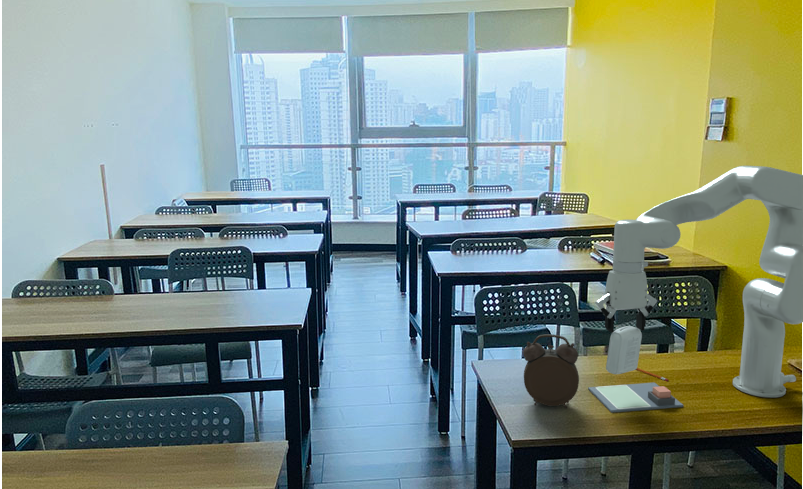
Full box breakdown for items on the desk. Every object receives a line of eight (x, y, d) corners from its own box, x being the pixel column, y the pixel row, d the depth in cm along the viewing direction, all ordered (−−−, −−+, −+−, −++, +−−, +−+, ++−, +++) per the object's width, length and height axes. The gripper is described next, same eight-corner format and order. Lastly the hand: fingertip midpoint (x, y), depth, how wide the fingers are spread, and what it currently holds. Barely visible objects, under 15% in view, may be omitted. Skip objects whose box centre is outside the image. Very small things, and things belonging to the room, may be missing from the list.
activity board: (654, 384, 159) (654, 376, 159) (683, 406, 146) (683, 398, 145) (588, 389, 157) (588, 381, 157) (611, 412, 144) (611, 404, 143)
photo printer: (625, 364, 154) (631, 322, 152) (639, 369, 151) (645, 327, 149) (602, 370, 148) (608, 327, 146) (616, 376, 145) (623, 332, 143)
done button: (663, 393, 150) (664, 386, 149) (670, 399, 146) (670, 391, 146) (652, 394, 149) (652, 387, 149) (658, 399, 146) (659, 392, 146)
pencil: (666, 382, 161) (666, 379, 161) (612, 362, 177) (612, 359, 177) (668, 381, 162) (668, 379, 161) (614, 361, 177) (614, 358, 177)
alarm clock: (577, 400, 151) (579, 331, 147) (578, 413, 144) (580, 341, 140) (523, 395, 155) (524, 328, 151) (521, 407, 148) (522, 337, 144)
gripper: (651, 262, 149) (647, 323, 152) (590, 265, 147) (587, 327, 150) (667, 268, 142) (663, 332, 145) (602, 271, 140) (600, 336, 143)
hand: (624, 329), depth 148 cm, fingers closed on photo printer, 8 cm apart
